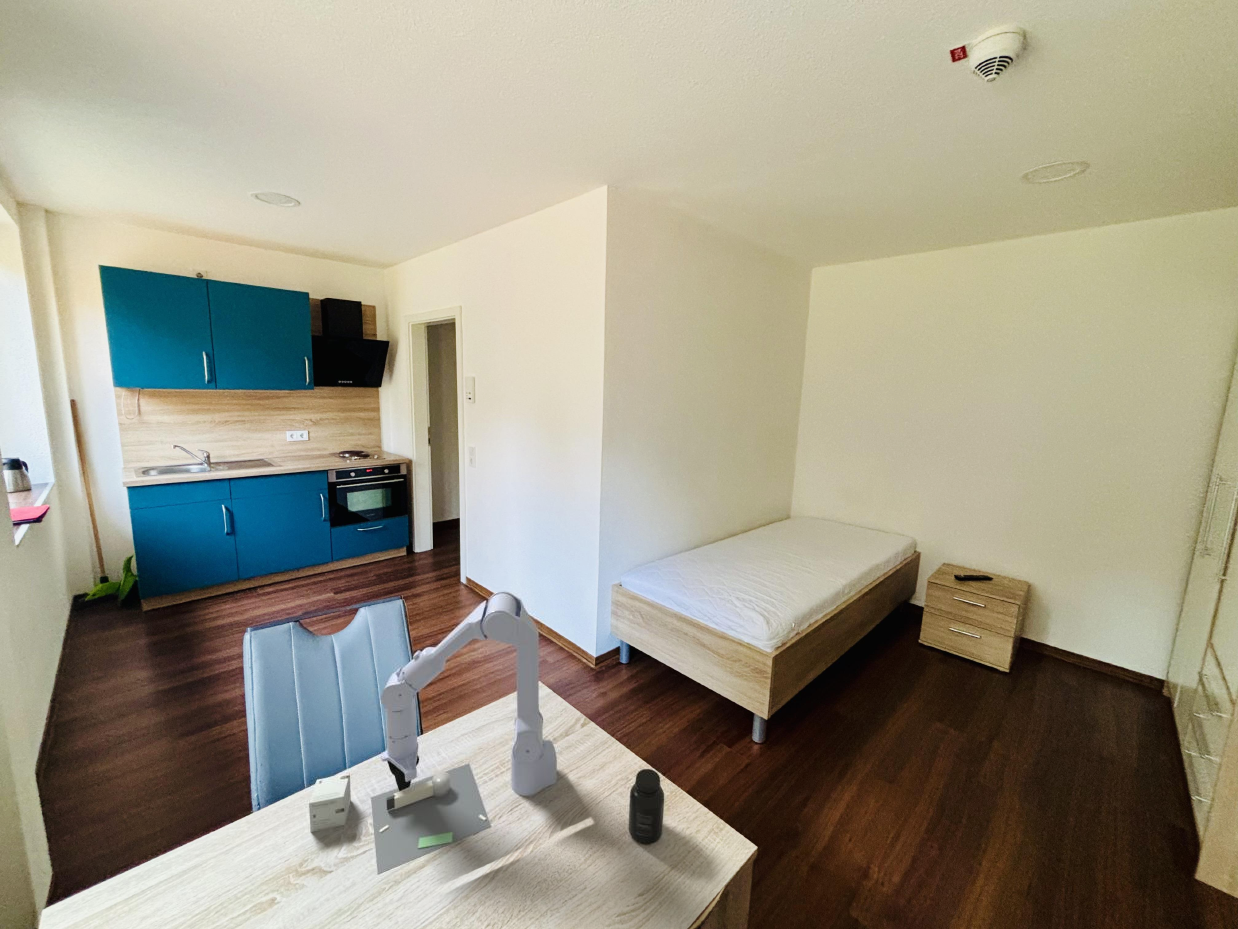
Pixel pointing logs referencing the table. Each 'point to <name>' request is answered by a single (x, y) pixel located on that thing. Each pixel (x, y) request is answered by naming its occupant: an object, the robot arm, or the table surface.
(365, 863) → the table surface
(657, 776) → the supplement bottle
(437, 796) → the peg lever
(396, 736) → the robot arm
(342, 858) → the table surface
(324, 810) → the skincare box
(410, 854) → the tuner board
